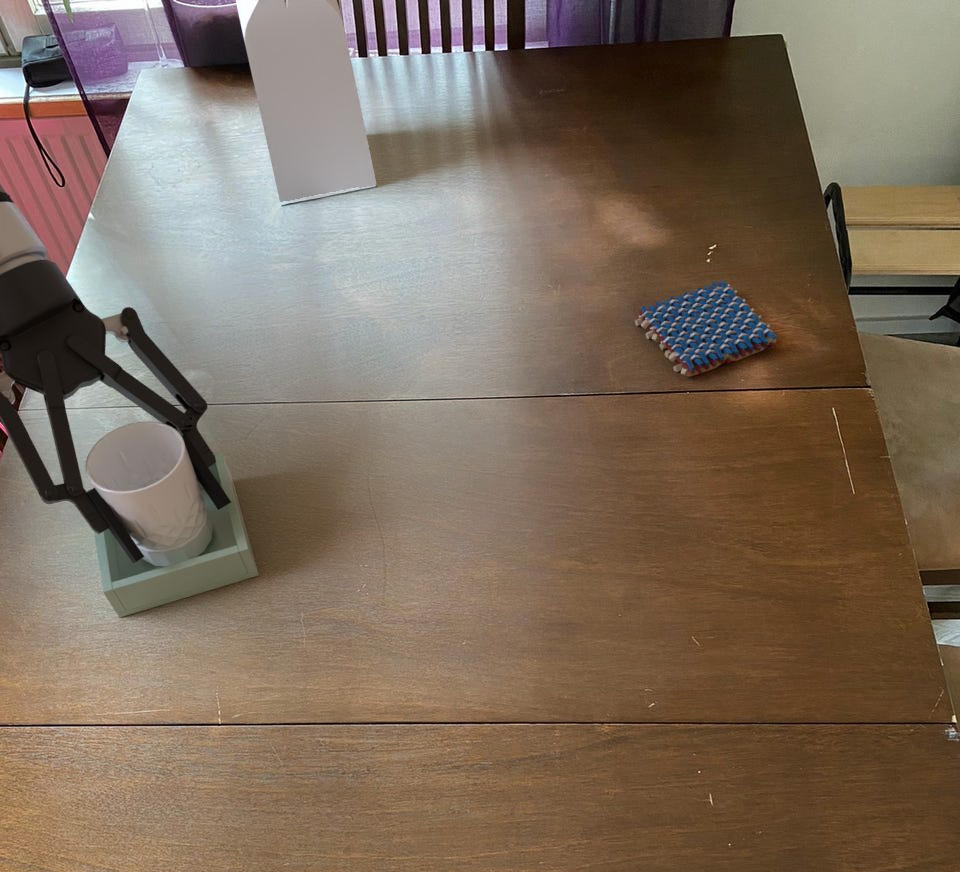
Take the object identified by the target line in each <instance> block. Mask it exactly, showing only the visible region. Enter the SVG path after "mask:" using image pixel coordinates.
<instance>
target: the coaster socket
mask: <svg viewBox="0 0 960 872" xmlns="http://www.w3.org/2000/svg"><path fill="white" fill-rule="evenodd" d="M213 454H214V455H215V459H216V463H215V464H213V465H212V466H210V467H208V468H209V470H210V471H211V472H212V474H213V475H214V477H215V478H216V480H217V481H218V483H219V484H220V486H221V487H222V489H223V490H224V492H225V493H226V495H227V496H228V498H229V499H230V501H231V503H229V504H228V505H226V506H224V507H223V508H221V509H219V510H218V509H217V507H216V506H215V505H214V503H213V502H212V500H211V499H210V497H209V496H208V494H207V493H206V491H205V490H204V488H203V487H202V485H201V484H200V482H199V481H198V482H199V485H200V488H201V491H202V494H203V497H204V500H205V505H206V509H207V511H208V514H209V517H210V519H211V522H212V525H213V528H212V539H211V541H210V542H209V544H208V546H207V547H206V549H205V550H204V552H202V553H201V554H200V555H198V556H197V557H195V558H192V559H188V560H185V561H182V562H178V563H175V564H172V565H168V566H165V567H164V566H154V565H153V564H151V563H149V562H147V561H145V560H143V559H140V560H139V561H137V562H135V563H133V562H132V561H131V559H130V558H129V557H128V555H127V554H126V552H125V551H124V550H123V548H122V547H121V545H120V544H119V543H118V541H117V540H116V538H115V537H114V536H113V534H112V533H111V531H110V530H109V529H107V530H105V531H103V532H102V533H100V534H98V533H96V532H95V531H93V535H94V541H95V548H96V555H97V561H98V569H99V575H100V581H101V587H102V593H103V594H104V596H105V597H106V599H107V601H108V602H109V604H110V606H111V607H112V609H113V611H114V612H115V613H116V615H117V617H118V618H123V617H126V616H130V615H134V614H136V613H140V612H143V611H146V610H151V609H153V608H156V607H159V606H163V605H166V604H169V603H173V602H176V601H179V600H183V599H185V598H188V597H192V596H196V595H199V594H203V593H205V592H208V591H212V590H216V589H219V588H222V587H226V586H228V585H232V584H235V583H238V582H242V581H245V580H249V579H252V578H254V577H259V576H260V573H259V569H258V566H257V562H256V559H255V556H254V551H253V548H252V544H251V540H250V537H249V533H248V529H247V525H246V523H245V519H244V514H243V510H242V507H241V504H240V501H239V496H238V493H237V489H236V485H235V482H234V479H233V476H232V473H231V471H230V468H229V466H228V463H227V461H226V459H225V456H224V453H223V452H222V451H219V452H217V453H213ZM90 490H91V489H87V492H88V491H90Z"/></svg>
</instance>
